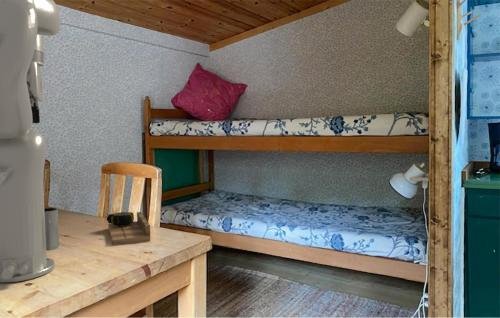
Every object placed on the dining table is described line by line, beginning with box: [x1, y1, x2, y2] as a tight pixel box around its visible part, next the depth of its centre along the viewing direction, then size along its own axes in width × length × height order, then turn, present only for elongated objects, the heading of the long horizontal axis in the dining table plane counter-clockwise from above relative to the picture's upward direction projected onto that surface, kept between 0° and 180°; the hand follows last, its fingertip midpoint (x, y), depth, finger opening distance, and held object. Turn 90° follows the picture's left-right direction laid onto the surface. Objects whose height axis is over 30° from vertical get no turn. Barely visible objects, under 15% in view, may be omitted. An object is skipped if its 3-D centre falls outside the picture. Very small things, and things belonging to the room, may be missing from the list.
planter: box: [44, 207, 60, 251], centre depth 99 cm, size 4×4×10 cm
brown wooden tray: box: [107, 211, 151, 246], centre depth 111 cm, size 19×10×4 cm, turn 24°
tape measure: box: [106, 211, 135, 226], centre depth 116 cm, size 7×7×4 cm
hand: (30, 122), depth 101 cm, fingers open, 9 cm apart
